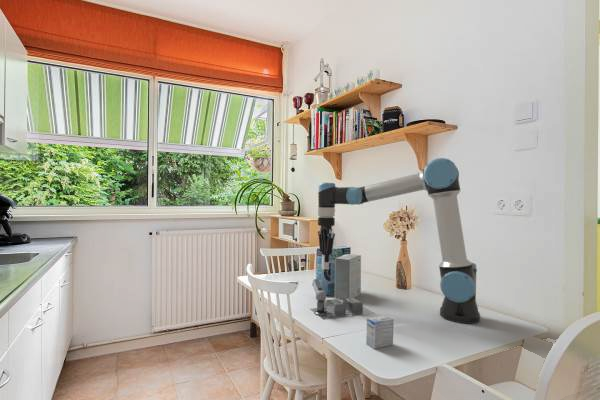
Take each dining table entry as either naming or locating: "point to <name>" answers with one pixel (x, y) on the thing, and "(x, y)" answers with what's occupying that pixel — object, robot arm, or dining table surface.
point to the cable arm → (319, 290)
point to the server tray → (326, 314)
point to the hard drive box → (347, 276)
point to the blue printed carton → (328, 275)
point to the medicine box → (379, 332)
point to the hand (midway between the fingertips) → (325, 269)
